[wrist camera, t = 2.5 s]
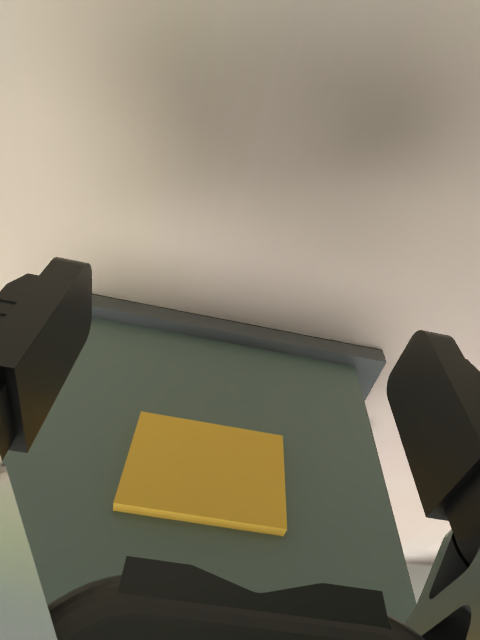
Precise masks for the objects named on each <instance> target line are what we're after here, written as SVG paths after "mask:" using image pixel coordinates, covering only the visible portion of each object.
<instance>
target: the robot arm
mask: <svg viewBox="0 0 480 640" xmlns="http://www.w3.org/2000/svg"><path fill="white" fill-rule="evenodd" d="M91 320H92V270H91V266H90V264H89V263H84V262H79V261H74V260H69V259H64V258H59V257H55V258H54V259H53V260H52V261H51V262H50V263H49V264H48V265H47V267H46V268H45V269H44V270H43V272H42V273H41V274H40V275H39V276H38V275H33V274H26V275H24V276H22V277H20V278H18V279H16V280H14V281H12V282H10V283H8V284H7V285H6V286H5V287H4V288H3V289H2V290H1V291H0V640H480V371H478V370H477V369H476V368H475V367H474V366H473V365H472V364H471V363H470V362H469V361H468V360H467V359H465V358H464V356H463V354H462V352H461V351H460V349H459V347H458V346H457V344H456V342H455V340H454V339H453V338H452V337H451V336H448V335H443V334H438V333H433V332H428V331H423V330H419V331H417V332H416V333H414V335H413V336H412V337H411V339H410V341H409V343H408V344H407V346H406V348H405V349H404V351H403V353H402V354H401V356H400V358H399V360H398V361H397V363H396V365H395V366H394V368H393V370H392V372H391V374H390V376H389V379H388V383H387V397H388V400H389V404H390V407H391V410H392V413H393V416H394V419H395V422H396V425H397V428H398V431H399V435H400V438H401V441H402V444H403V447H404V450H405V453H406V456H407V459H408V462H409V466H410V469H411V472H412V475H413V478H414V481H415V484H416V487H417V490H418V493H419V497H420V500H421V503H422V506H423V509H424V512H425V515H426V517H428V518H434V519H440V520H447V521H449V523H450V525H451V528H452V529H451V530H450V531H449V532H448V533H447V534H446V535H445V537H444V539H443V541H442V544H441V546H440V549H439V551H438V554H437V556H436V559H435V561H434V564H433V566H432V568H431V571H430V573H429V576H428V579H427V581H426V584H425V586H424V589H423V591H422V593H421V596H420V598H419V601H418V603H417V605H416V607H415V609H414V610H413V612H412V614H411V615H410V617H409V618H408V619H407V620H406V622H405V623H402V622H401V621H399V620H397V619H396V618H394V617H392V616H391V615H389V614H387V611H386V607H385V602H384V597H383V592H382V591H378V590H370V589H363V588H356V587H349V586H342V585H334V584H327V583H318V584H312V585H306V586H301V587H295V588H289V589H283V590H277V591H271V592H266V593H257V592H253V591H250V590H248V589H246V588H243V587H241V586H239V585H237V584H234V583H232V582H230V581H228V580H225V579H223V578H221V577H218V576H216V575H214V574H212V573H209V572H207V571H205V570H203V569H200V568H198V567H196V566H194V565H190V564H182V563H175V562H168V561H161V560H154V559H146V558H139V557H132V556H126V560H125V564H124V568H123V572H122V575H118V576H112V577H106V578H103V579H100V580H96V581H93V582H90V583H87V584H85V585H83V586H80V587H78V588H76V589H74V590H72V591H70V592H68V593H66V594H65V595H63V596H61V597H59V598H58V599H56V600H54V601H53V602H52V603H50V604H49V605H47V603H46V600H45V596H44V593H43V590H42V586H41V583H40V580H39V576H38V573H37V569H36V566H35V563H34V559H33V556H32V553H31V549H30V546H29V543H28V539H27V536H26V533H25V529H24V526H23V523H22V519H21V516H20V513H19V509H18V506H17V502H16V499H15V496H14V492H13V489H12V486H11V482H10V479H9V476H8V473H7V470H6V467H5V464H3V462H2V461H3V459H4V457H5V455H6V454H7V452H8V450H10V451H17V452H23V453H28V451H29V449H30V448H31V446H32V444H33V442H34V440H35V438H36V436H37V434H38V432H39V430H40V428H41V427H42V425H43V423H44V421H45V419H46V417H47V415H48V413H49V411H50V409H51V407H52V406H53V404H54V402H55V400H56V398H57V396H58V394H59V392H60V390H61V388H62V386H63V385H64V383H65V381H66V379H67V377H68V375H69V373H70V371H71V369H72V367H73V365H74V364H75V362H76V360H77V358H78V356H79V354H80V352H81V350H82V348H83V346H84V344H85V343H86V340H87V338H88V335H89V331H90V327H91Z"/></svg>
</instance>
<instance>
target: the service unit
mask: <svg viewBox="0 0 480 640" xmlns="http://www.w3.org/2000/svg"><path fill="white" fill-rule="evenodd" d="M385 364H386V360H385V357H384V354H383V351H382V350H377V349H372V348H367V347H362V346H357V345H352V344H346V343H341V342H336V341H331V340H326V339H321V338H315V337H310V336H305V335H300V334H295V333H290V332H284V331H279V330H274V329H269V328H264V327H259V326H253V325H248V324H243V323H238V322H233V321H228V320H222V319H217V318H212V317H207V316H202V315H197V314H191V313H186V312H181V311H176V310H171V309H166V308H160V307H155V306H150V305H145V304H140V303H135V302H129V301H124V300H119V299H114V298H109V297H104V296H98V295H93V294H92V320H91V327H90V331H89V335H88V338H87V340H86V343H85V344H84V346H83V348H82V350H81V352H80V354H79V356H78V358H77V360H76V362H75V364H74V365H73V367H72V369H71V371H70V373H69V375H68V377H67V379H66V381H65V383H64V385H63V386H62V388H61V390H60V392H59V394H58V396H57V398H56V400H55V402H54V404H53V406H52V407H51V409H50V411H49V413H48V415H47V417H46V419H45V421H44V423H43V425H42V427H41V428H40V430H39V432H38V434H37V436H36V438H35V440H34V442H33V444H32V446H31V448H30V449H29V451H28V453H23V452H17V451H10V450H8V452H7V454H6V455H5V457H4V459H3V461H2V462H3V464H5V467H6V470H7V473H8V476H9V479H10V482H11V486H12V489H13V492H14V496H15V499H16V502H17V506H18V509H19V513H20V516H21V519H22V523H23V526H24V529H25V533H26V536H27V539H28V543H29V546H30V549H31V553H32V556H33V559H34V563H35V566H36V569H37V573H38V576H39V580H40V583H41V586H42V590H43V593H44V596H45V600H46V603H47V605H49V604H50V603H52V602H53V601H54V600H56V599H58V598H59V597H61V596H63V595H65V594H66V593H68V592H70V591H72V590H74V589H76V588H78V587H80V586H83V585H85V584H87V583H90V582H93V581H96V580H100V579H103V578H106V577H112V576H118V575H122V572H123V568H124V564H125V560H126V556H132V557H139V558H146V559H154V560H161V561H168V562H175V563H182V564H190V565H194V566H196V567H198V568H200V569H203V570H205V571H207V572H209V573H212V574H214V575H216V576H218V577H221V578H223V579H225V580H228V581H230V582H232V583H234V584H237V585H239V586H241V587H243V588H246V589H248V590H250V591H253V592H257V593H266V592H271V591H277V590H283V589H289V588H295V587H301V586H306V585H312V584H318V583H327V584H334V585H342V586H349V587H356V588H363V589H370V590H378V591H382V592H383V597H384V602H385V607H386V611H387V614H389V615H391V616H392V617H394V618H396V619H397V620H399V621H401V622H402V623H405V622H406V620H407V619H408V618H409V617H410V615H411V614H412V612H413V610H414V609H415V607H416V605H417V604H416V601H415V597H414V593H413V589H412V585H411V581H410V577H409V573H408V570H407V565H406V562H405V558H404V554H403V550H402V546H401V542H400V538H399V534H398V530H397V527H396V523H395V519H394V515H393V511H392V507H391V503H390V499H389V495H388V492H387V488H386V484H385V480H384V476H383V472H382V468H381V464H380V460H379V457H378V453H377V449H376V445H375V441H374V437H373V433H372V429H371V425H370V422H369V418H368V414H367V410H366V406H365V402H364V401H365V399H366V398H367V396H368V394H369V392H370V390H371V389H372V387H373V385H374V383H375V382H376V380H377V378H378V376H379V374H380V373H381V371H382V369H383V367H384V366H385Z"/></svg>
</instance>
